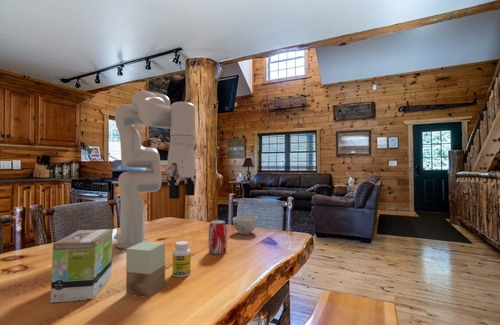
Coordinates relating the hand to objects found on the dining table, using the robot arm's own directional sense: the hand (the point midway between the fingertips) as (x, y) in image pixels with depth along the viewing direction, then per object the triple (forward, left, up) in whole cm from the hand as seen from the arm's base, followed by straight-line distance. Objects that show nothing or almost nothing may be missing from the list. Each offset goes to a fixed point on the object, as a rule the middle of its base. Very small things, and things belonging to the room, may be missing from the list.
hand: (182, 196), depth 83 cm
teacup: (+6, +54, -24) cm, 60 cm away
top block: (-4, -12, -18) cm, 22 cm away
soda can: (+3, +23, -24) cm, 34 cm away
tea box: (-21, -15, -24) cm, 36 cm away
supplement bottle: (0, 0, -24) cm, 24 cm away
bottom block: (-4, -12, -24) cm, 27 cm away
